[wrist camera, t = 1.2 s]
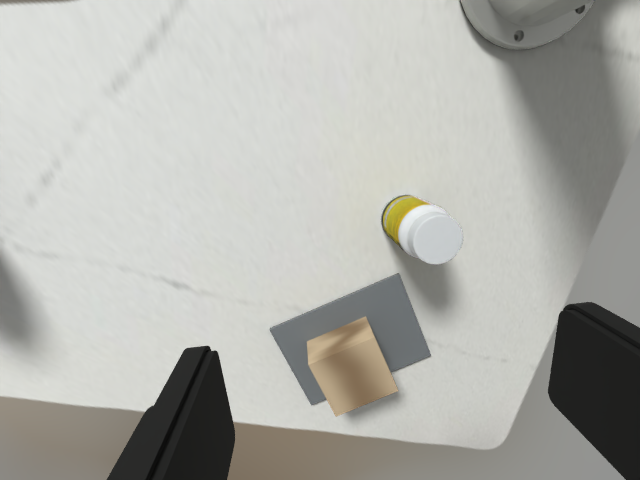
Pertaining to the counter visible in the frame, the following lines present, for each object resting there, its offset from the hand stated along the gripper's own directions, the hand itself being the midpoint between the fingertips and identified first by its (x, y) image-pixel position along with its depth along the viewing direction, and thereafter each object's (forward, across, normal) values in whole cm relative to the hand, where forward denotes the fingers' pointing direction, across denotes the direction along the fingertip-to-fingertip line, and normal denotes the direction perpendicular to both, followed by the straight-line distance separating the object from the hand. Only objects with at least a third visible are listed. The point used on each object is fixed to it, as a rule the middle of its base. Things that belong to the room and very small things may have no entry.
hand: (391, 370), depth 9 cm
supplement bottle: (+24, -8, +2) cm, 26 cm away
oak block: (+24, -1, +17) cm, 29 cm away
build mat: (+24, -2, +16) cm, 29 cm away
